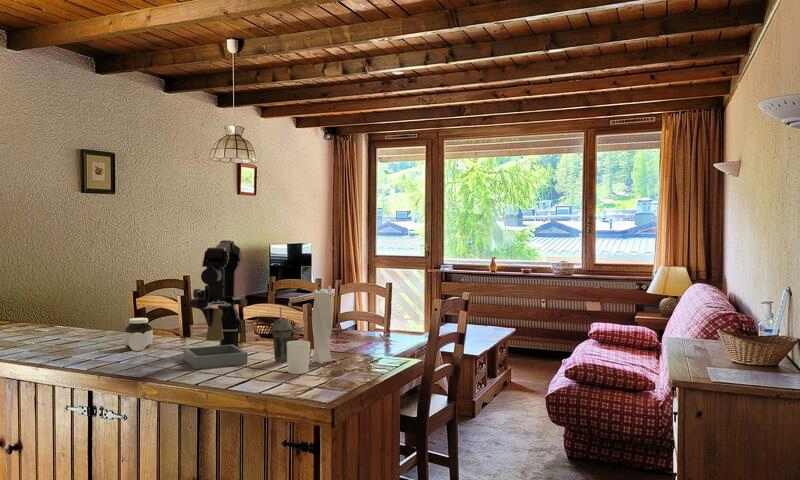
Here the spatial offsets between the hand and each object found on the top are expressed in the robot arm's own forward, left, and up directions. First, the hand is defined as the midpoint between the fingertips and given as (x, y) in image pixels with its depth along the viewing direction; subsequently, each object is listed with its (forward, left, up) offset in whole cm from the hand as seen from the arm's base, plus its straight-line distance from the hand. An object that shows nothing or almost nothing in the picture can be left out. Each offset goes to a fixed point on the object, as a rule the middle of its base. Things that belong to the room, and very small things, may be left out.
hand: (215, 325), depth 208 cm
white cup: (-20, +29, -13) cm, 38 cm away
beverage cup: (-21, +11, -13) cm, 27 cm away
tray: (0, 0, -13) cm, 13 cm away
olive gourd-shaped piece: (0, 0, -5) cm, 5 cm away
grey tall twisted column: (-34, +18, -13) cm, 41 cm away
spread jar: (+20, -38, -13) cm, 45 cm away
